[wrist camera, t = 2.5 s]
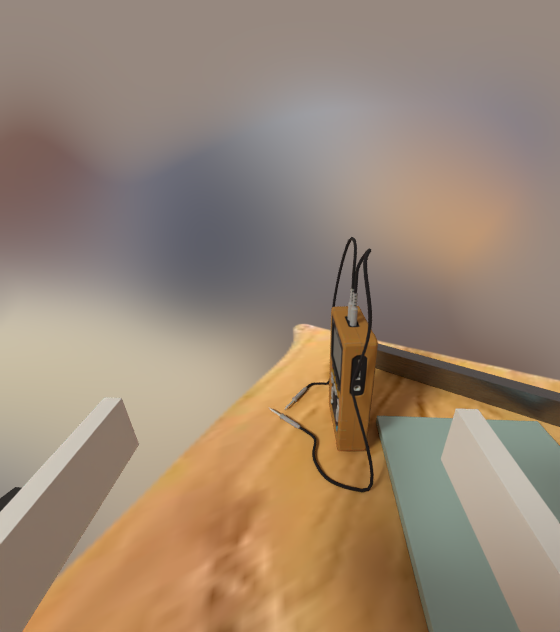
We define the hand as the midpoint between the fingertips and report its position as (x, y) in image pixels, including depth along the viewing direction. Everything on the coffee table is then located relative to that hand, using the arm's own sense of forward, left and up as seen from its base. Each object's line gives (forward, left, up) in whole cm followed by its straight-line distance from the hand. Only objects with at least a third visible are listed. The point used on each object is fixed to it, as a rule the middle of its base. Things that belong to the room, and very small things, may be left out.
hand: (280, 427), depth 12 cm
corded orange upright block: (-1, -15, -16) cm, 22 cm away
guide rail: (-18, -22, -16) cm, 33 cm away
